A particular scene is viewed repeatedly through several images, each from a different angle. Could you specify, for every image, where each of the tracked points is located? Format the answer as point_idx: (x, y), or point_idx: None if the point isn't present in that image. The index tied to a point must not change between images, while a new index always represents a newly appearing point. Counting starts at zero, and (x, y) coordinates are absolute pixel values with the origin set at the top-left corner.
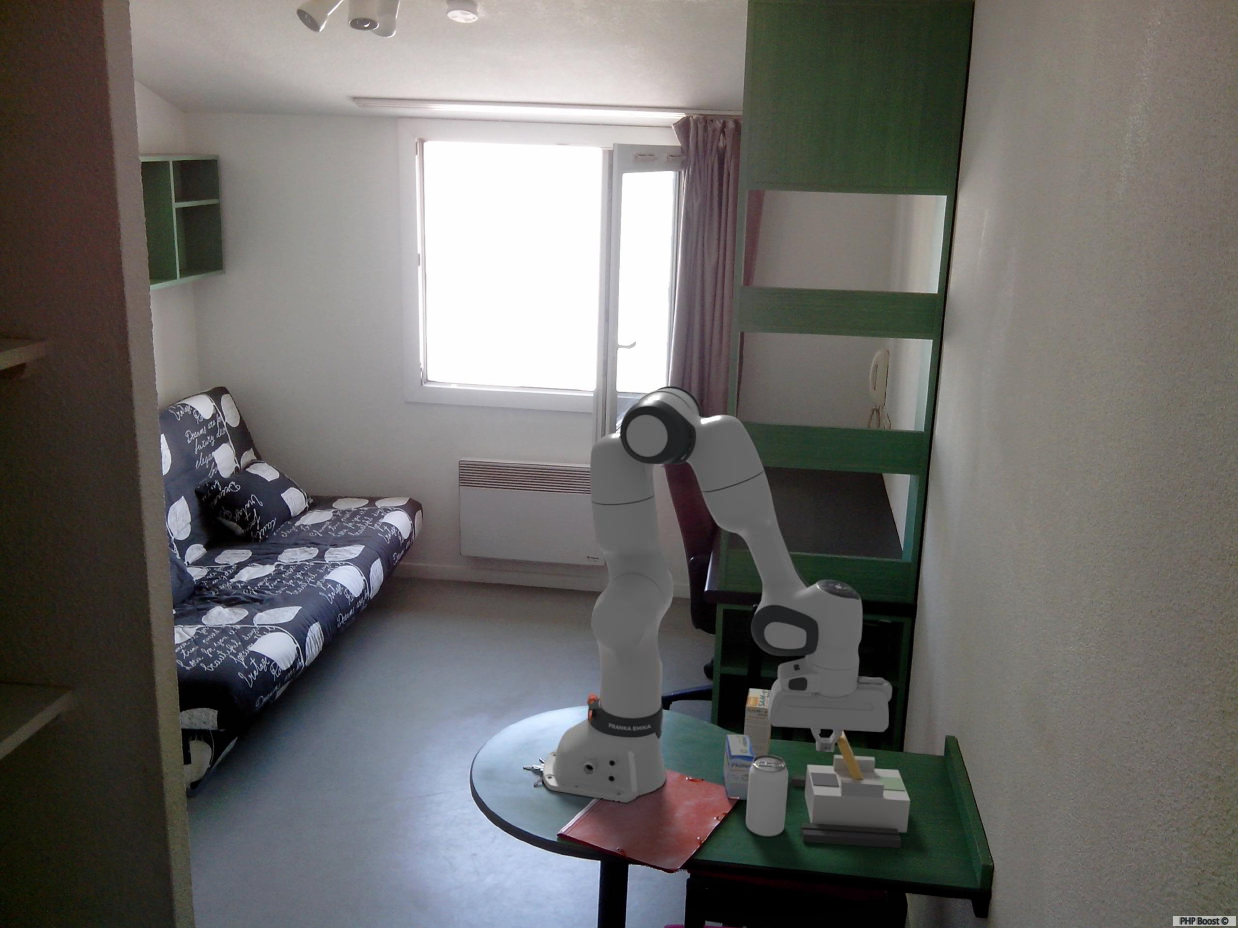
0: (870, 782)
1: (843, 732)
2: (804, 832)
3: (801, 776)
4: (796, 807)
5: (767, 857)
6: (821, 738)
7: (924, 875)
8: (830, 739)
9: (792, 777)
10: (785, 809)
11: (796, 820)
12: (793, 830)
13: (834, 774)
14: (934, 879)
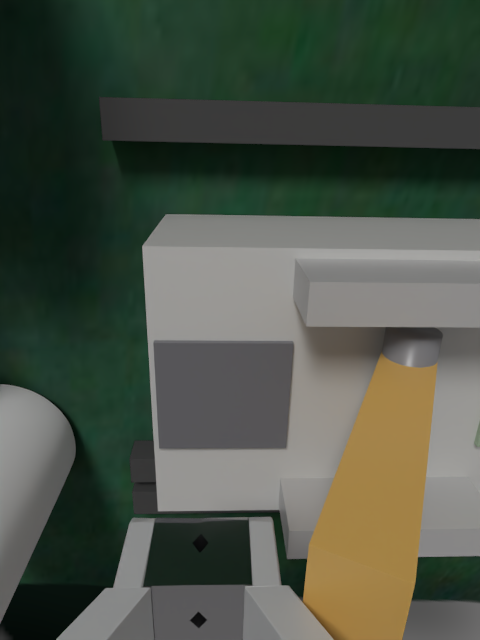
0: (435, 541)
1: (405, 614)
2: (138, 504)
3: (150, 110)
4: (126, 311)
5: (33, 563)
6: (163, 598)
7: (449, 582)
8: (246, 619)
9: (103, 124)
10: (50, 511)
11: (123, 390)
12: (111, 444)
13: (284, 350)
14: (468, 592)
